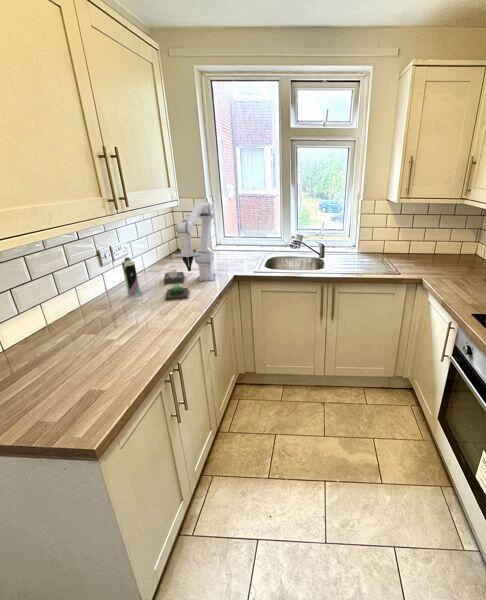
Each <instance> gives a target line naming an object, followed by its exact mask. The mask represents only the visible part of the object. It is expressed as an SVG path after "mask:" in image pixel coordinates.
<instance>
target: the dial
mask: <svg viewBox="0 0 486 600" xmlns="http://www.w3.org/2000/svg"><path fill="white" fill-rule="evenodd" d="M177 272H178V270H177V269H170V270H168V272H167V273H169V277H170V278H176V277H178V276H177Z"/></svg>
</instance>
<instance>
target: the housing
mask: <svg viewBox="0 0 486 600" xmlns="http://www.w3.org/2000/svg"><path fill="white" fill-rule="evenodd" d="M188 293H189V288H188V287H182V286H180V290H177V291H173V288H172V287H171V288H168V289H167V291H166V294H165V301H177V300H186V299H187V300H188Z"/></svg>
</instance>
